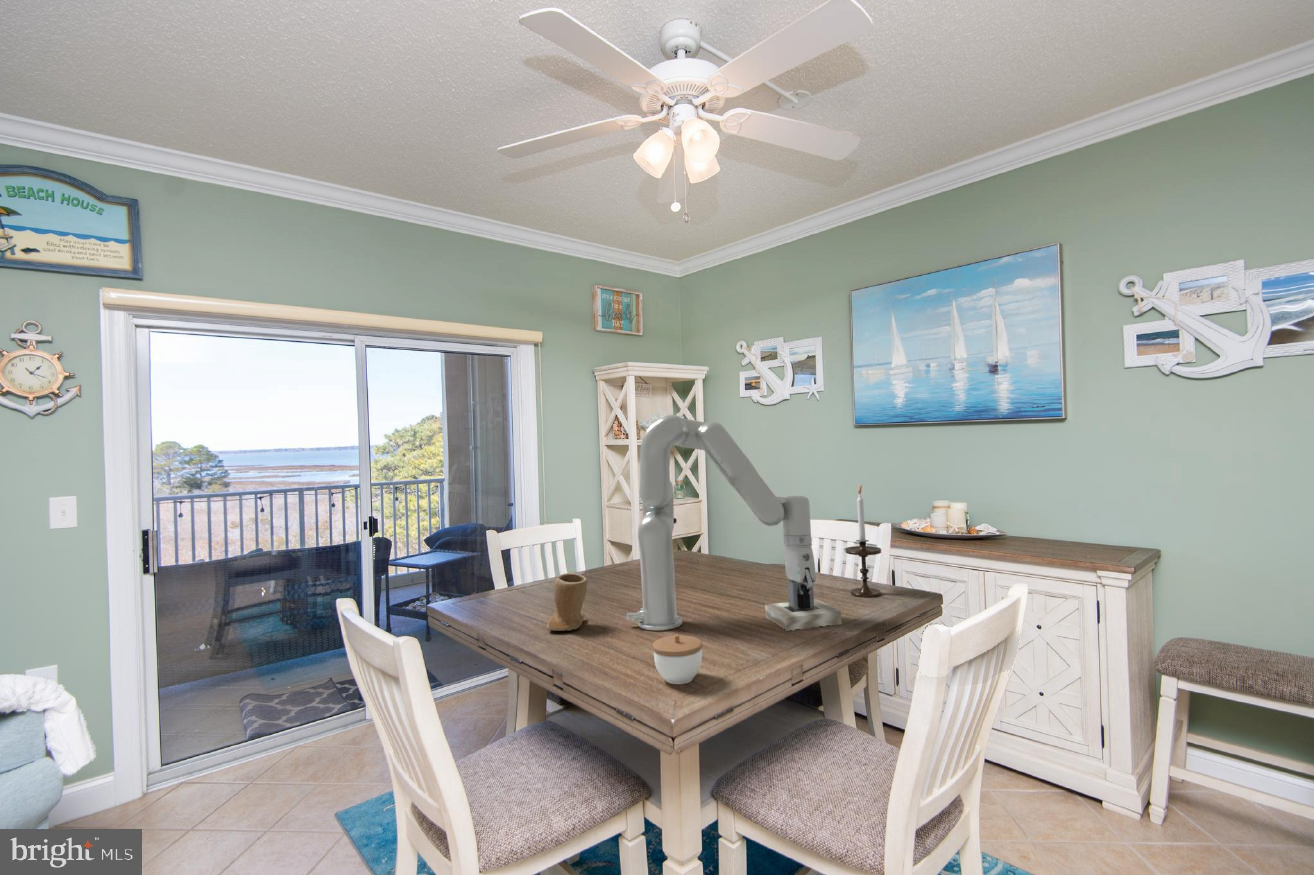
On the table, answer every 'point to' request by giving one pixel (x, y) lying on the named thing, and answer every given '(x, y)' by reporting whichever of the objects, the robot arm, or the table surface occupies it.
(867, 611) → the table surface
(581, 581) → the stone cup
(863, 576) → the candlestick
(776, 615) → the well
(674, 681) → the lidded jar
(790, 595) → the upright grey box
